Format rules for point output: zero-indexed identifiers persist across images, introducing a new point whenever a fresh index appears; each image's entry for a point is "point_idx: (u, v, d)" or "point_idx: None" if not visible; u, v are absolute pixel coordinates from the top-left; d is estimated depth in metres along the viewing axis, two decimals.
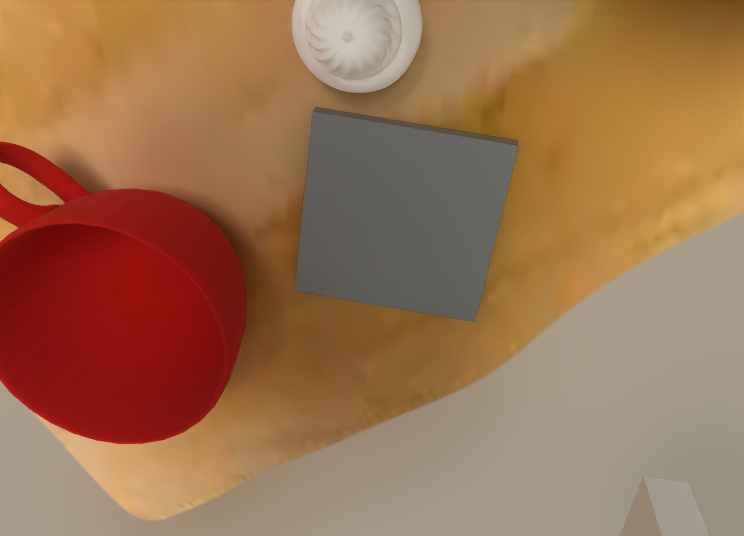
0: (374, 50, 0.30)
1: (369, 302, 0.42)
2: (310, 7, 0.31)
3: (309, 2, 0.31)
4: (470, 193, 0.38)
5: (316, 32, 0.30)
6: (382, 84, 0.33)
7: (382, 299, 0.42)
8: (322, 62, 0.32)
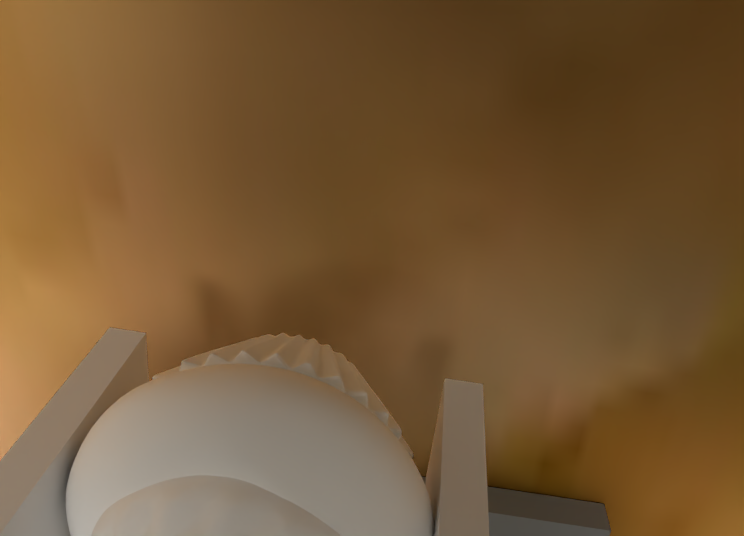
0: None
1: None
2: None
3: (92, 520, 0.10)
4: None
5: None
6: None
7: None
8: None
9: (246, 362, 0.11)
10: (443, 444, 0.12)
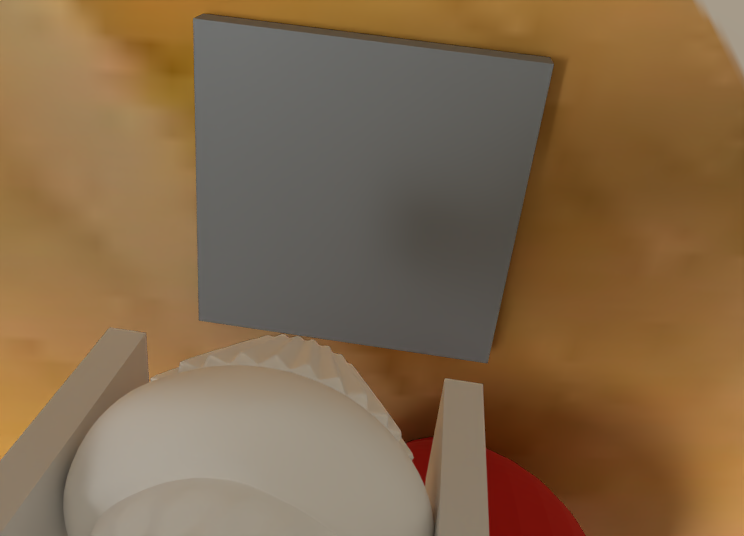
0: None
1: (508, 254, 0.24)
2: None
3: (90, 523, 0.10)
4: (288, 94, 0.22)
5: None
6: None
7: (502, 233, 0.24)
8: None
9: (245, 364, 0.11)
10: (443, 444, 0.12)
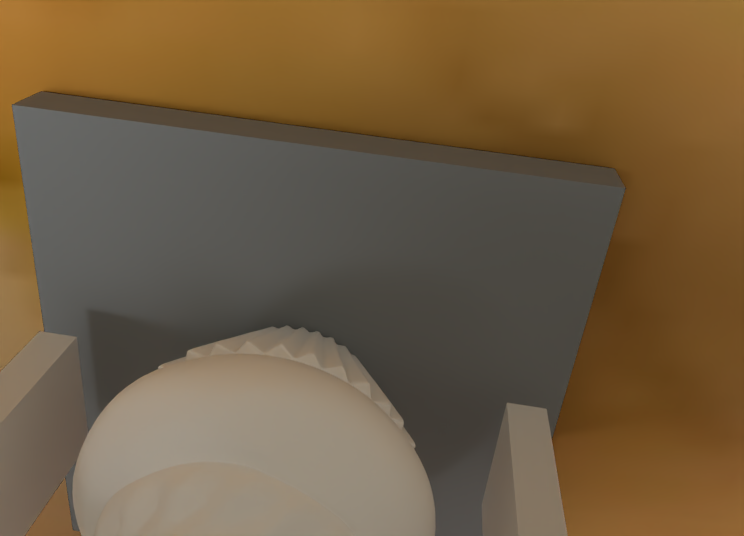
0: None
1: None
2: None
3: (99, 506, 0.11)
4: (179, 225, 0.13)
5: None
6: None
7: None
8: None
9: (251, 352, 0.12)
10: (514, 475, 0.12)
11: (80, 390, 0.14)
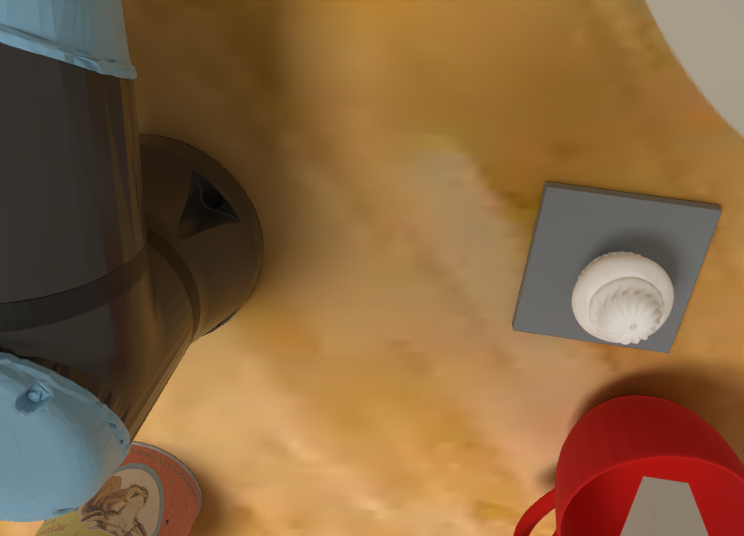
0: (650, 332, 0.42)
1: (688, 297, 0.47)
2: (596, 296, 0.43)
3: (594, 291, 0.43)
4: (587, 221, 0.46)
5: (607, 321, 0.42)
6: None
7: (686, 287, 0.47)
8: (601, 330, 0.43)
9: None
10: None
11: None
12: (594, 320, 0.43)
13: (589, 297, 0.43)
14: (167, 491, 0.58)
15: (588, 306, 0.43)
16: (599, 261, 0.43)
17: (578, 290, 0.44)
